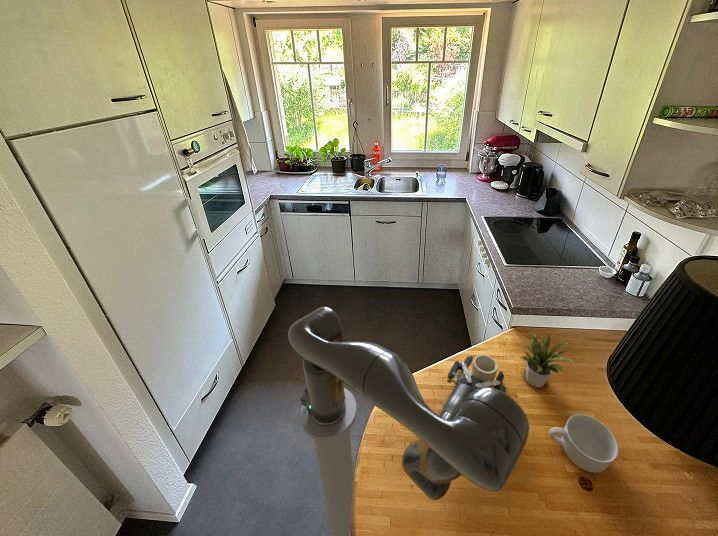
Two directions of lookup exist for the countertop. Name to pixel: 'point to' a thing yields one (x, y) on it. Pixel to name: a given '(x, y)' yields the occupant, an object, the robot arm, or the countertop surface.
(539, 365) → the house plant
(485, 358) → the tumbler
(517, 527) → the countertop surface
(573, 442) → the teacup
